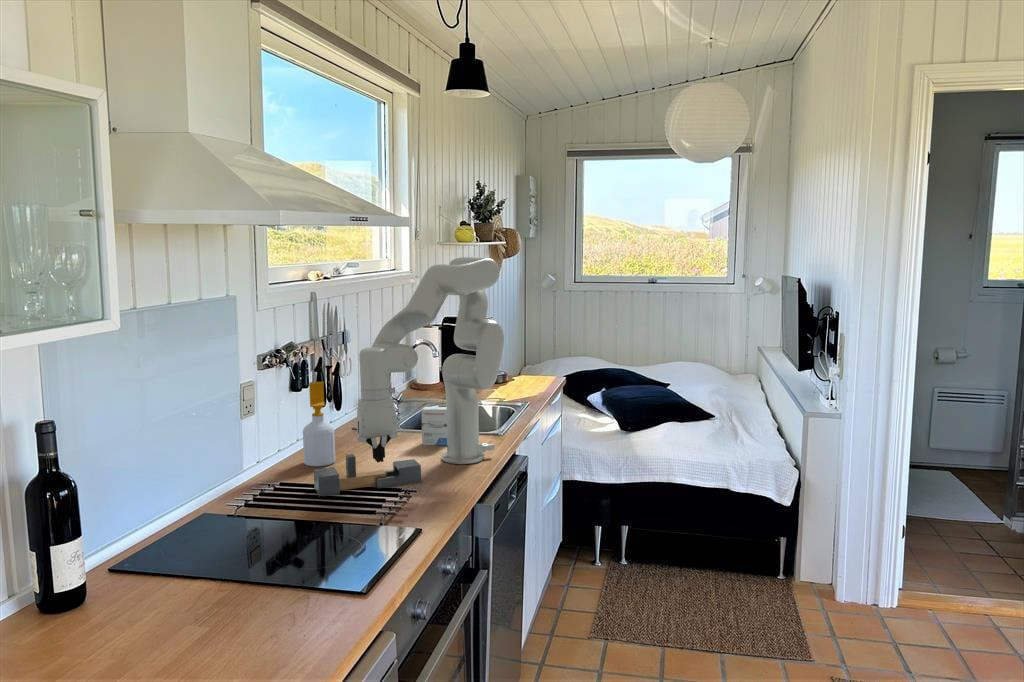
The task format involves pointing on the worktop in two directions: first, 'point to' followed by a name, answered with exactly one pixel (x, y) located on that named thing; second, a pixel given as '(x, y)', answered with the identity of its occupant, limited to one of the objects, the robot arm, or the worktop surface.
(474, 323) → the robot arm
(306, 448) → the soap bottle
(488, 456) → the worktop surface
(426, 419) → the ink box
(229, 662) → the worktop surface
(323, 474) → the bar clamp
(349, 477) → the sliding bolt with handle
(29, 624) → the worktop surface
